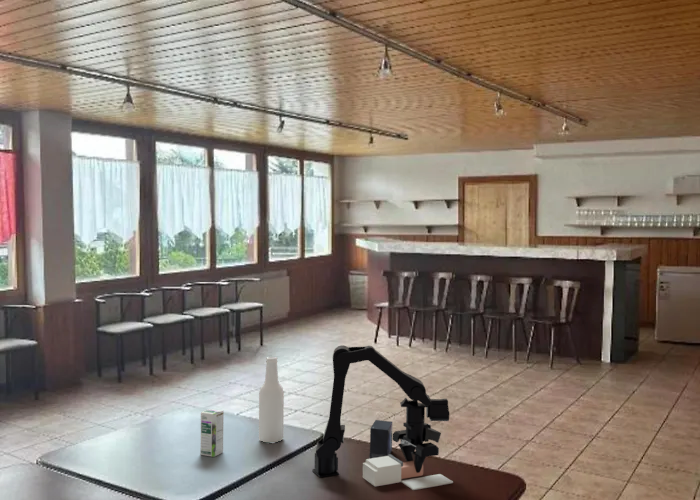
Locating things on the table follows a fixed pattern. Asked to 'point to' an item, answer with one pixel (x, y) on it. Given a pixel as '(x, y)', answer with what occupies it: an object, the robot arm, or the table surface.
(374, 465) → the block
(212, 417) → the syrup box
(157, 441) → the table surface
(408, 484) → the mat
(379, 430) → the small box
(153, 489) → the table surface
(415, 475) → the salmon pink block
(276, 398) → the alcohol
